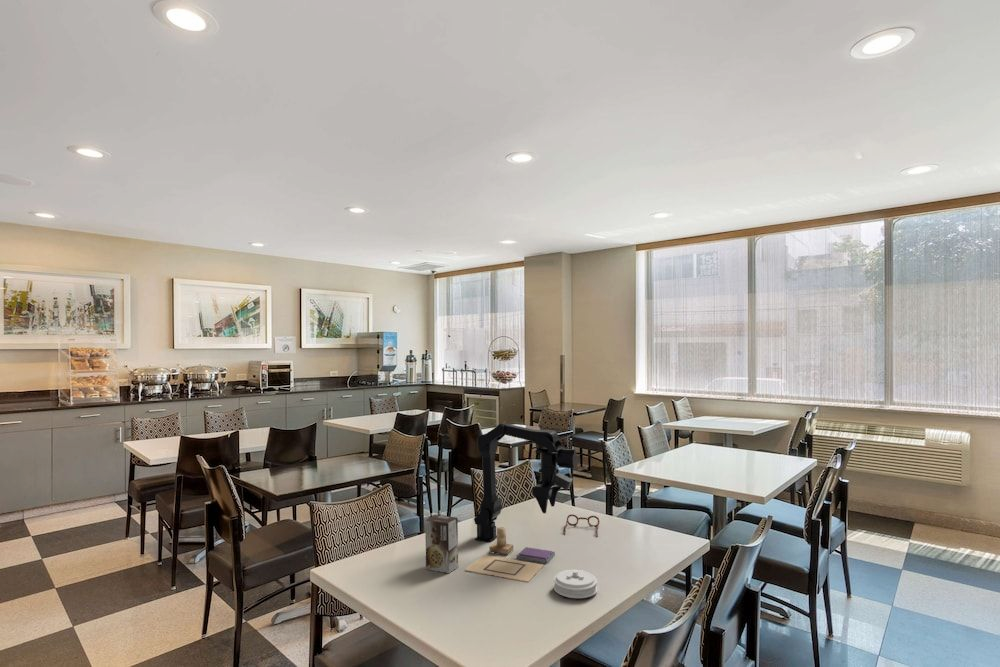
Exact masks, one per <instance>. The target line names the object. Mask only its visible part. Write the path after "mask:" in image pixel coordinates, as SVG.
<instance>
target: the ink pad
mask: <svg viewBox="0 0 1000 667" xmlns="http://www.w3.org/2000/svg"><path fill="white" fill-rule="evenodd" d="M555 556H556V553H555V551H552V550H547V549H540V548H534V547H524V548H523V549H522V550H521V551H520V552H519V553H518V554H516V560H520V561H527V560H528V561H527V562H532V563H535V562H536V563H539V562H540V563H539V564H542V563H543V564H546V563H547V564H549V563H550V561H551V560H552V559H553V558H554V557H555Z"/></svg>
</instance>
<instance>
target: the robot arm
mask: <svg viewBox="0 0 1000 667" xmlns="http://www.w3.org/2000/svg"><path fill="white" fill-rule="evenodd" d="M505 436H508V437H511V438H517V439H521V440H526V441H530V442H532V443H534V444H535V445H536V446H538V447H537V449H536V450H535V452H534V453H535V454H540V468H539V469H538V473H540V479H539V480H538V484H536V485H535V486H533V487H532V489H531V494H532V495H533V497H535V498H534V499H535V500H536V501H537V503H538V506H539V507H540V511H541V512H542V514H546V513H547V509H548V502H549V504H550V506H551V507H553V508H554V506H555V505H556V501H557V500H556V499H557V497H558V493H559V491H560V490H561V489H563V490H566V491H568V490H569V489H570V488H571V486H572V484H573V483H574V481H573V480H574V478H573V477H572V476H573V474H572V473H570V472H569V471H567V472H566V473H565V474H564V473H560V469H559V468H563V469H564V468H565V469H573V470H576V469H577V468H578V465H579V457H578V454H577V449H576V448H565V446H564V444H563V443H562V441H561V440H560V438H559V434H558V433H557V431H556V430H554V429H533V428H528V427H524V426H519V425H514V424H509V423H507V422H503V423H499V424H497V426H496V427H494V428H493V429H491V430H490V431H488V432H487V433H484V434H480V435H479V437H477V439H476V444H477V449H478V453H479V454H480V456H481V459H482V460H481V461H482V462H481V464H482V485H483V488H482V489H483V497H482V498H481V502H480V507H479V512H478V514H477V515H476V516H475V517H474V518H473V522H474V524H475V525H476V537H475V538H474V540H475V541H482V542H492V541H494V539H497V526H496V520H497V519H498V516H500V514H501V513H502V510H503V505H502V504H503V503H502V502H503V500H502V498H499V497H498V495H497V487H496V486H497V485H496V484H497V481H496V458H495V456H496V453H497V450H498V446H499V441H500V440H501V439H503V438H504V437H505Z"/></svg>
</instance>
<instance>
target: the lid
mask: <svg viewBox="0 0 1000 667" xmlns="http://www.w3.org/2000/svg"><path fill="white" fill-rule="evenodd" d="M553 582H554V585H553V589H554V591H555V592H556V593H557V594H558V595H561V596H563V597H566V598H570V599H586V598H590V597H593V596H595V595H596V594H597V592H598V587H597V584H598V579H597V578H596V577H595V576H594V575H593V574H592V573H591V572H589V571H586V570H582V569H581V570H580V569H566V570H565V569H564V570H562V571H560V572H558V573H556V574H555V576H553Z"/></svg>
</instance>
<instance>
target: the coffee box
mask: <svg viewBox="0 0 1000 667" xmlns="http://www.w3.org/2000/svg"><path fill="white" fill-rule="evenodd" d="M458 520H459V519H458V517H456V516H455V517H454V516H446V515H439V514H434V515H432V516H430V517H429V518H427V519H425V521H424V523H425V524H424V525H425V527H424V528H425V530H424V532H425V570H427V569H430V570H429V571H433V570H435V571H434V572H438V571H441V572H440V573H444V572H446V573H445V574H450V573H452V572H453V571H455V570H454V569H458V568H459V549H458V548H459V546H458V545H459V544H458V543H459V542H458V540H459V539H458V538H459V537H458V536H459V534H458V532H459V530H458V525H459V524H458ZM451 571H452V572H451Z"/></svg>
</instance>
